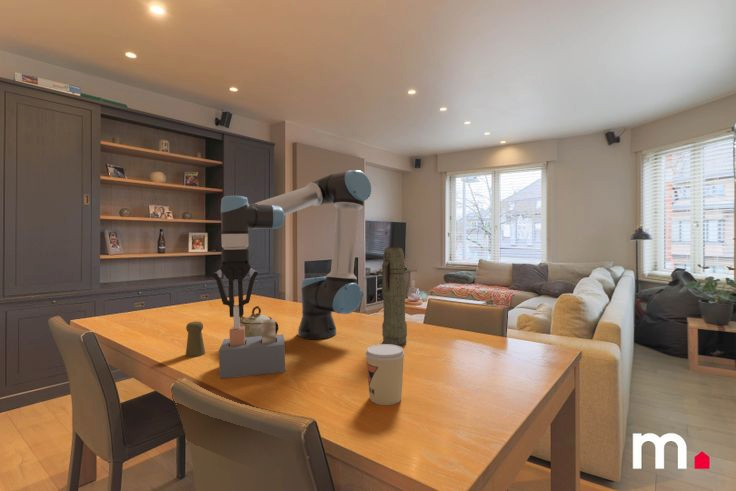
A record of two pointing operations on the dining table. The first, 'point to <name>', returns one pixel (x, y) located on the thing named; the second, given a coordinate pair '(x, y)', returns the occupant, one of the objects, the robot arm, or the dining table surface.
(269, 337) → the cream peg
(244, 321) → the sugar bowl
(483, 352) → the dining table surface
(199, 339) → the green pepper mill
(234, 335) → the terracotta peg
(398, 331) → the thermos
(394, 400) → the cream lidded canister
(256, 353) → the socket block
